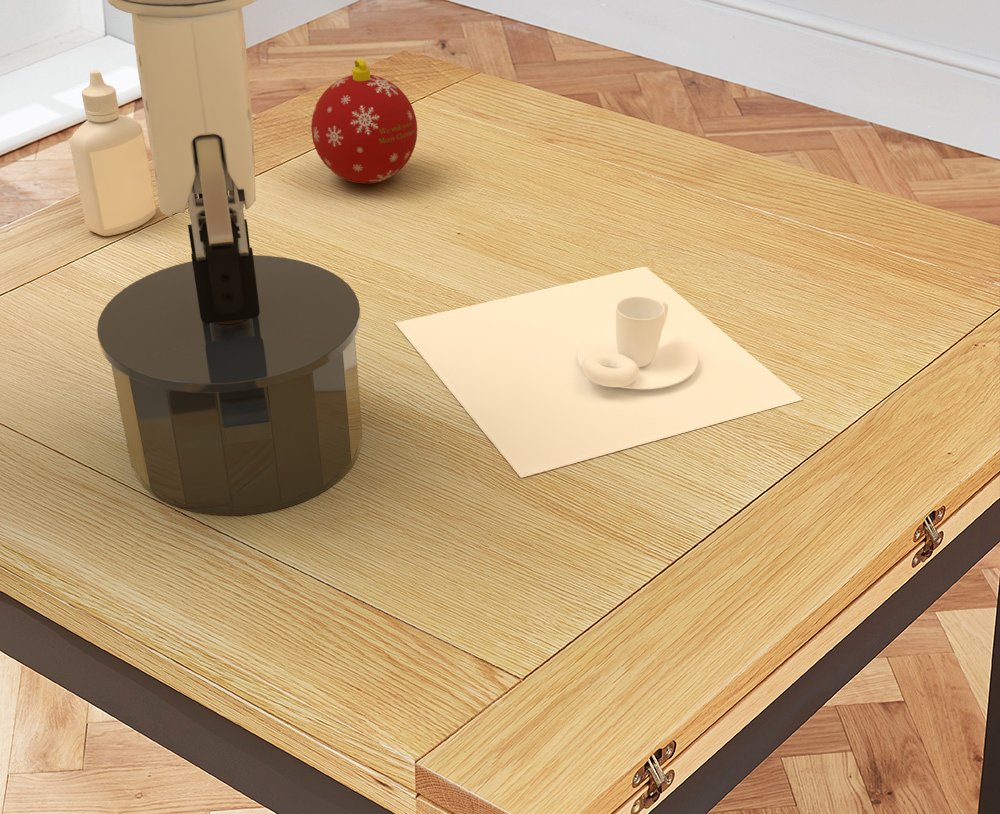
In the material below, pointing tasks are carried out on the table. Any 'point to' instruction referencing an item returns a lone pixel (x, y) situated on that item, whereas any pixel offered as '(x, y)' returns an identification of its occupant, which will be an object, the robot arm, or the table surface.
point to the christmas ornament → (364, 127)
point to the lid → (229, 329)
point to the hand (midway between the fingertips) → (228, 300)
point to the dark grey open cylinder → (244, 439)
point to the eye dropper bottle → (111, 164)
